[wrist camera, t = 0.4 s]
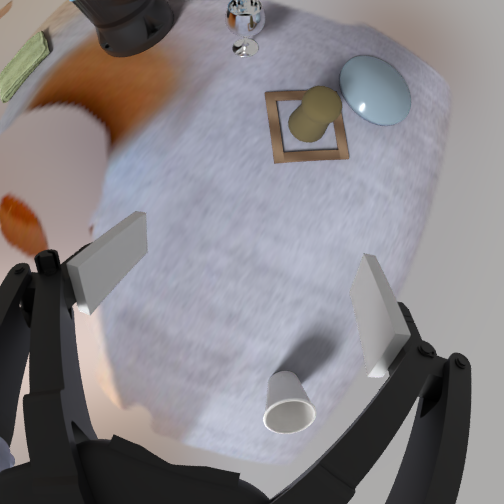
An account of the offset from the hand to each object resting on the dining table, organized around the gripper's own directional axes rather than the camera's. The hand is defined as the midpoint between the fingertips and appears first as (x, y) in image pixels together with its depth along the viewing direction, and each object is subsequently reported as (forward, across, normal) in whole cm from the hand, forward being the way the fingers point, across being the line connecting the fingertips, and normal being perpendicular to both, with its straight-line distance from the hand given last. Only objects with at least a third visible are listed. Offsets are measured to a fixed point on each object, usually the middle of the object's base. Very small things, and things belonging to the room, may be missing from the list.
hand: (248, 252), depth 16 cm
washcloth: (+29, -64, +23) cm, 74 cm away
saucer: (+36, +15, +17) cm, 42 cm away
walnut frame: (+31, +3, +8) cm, 32 cm away
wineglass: (+34, -9, +20) cm, 41 cm away
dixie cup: (+17, +8, -35) cm, 39 cm away
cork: (+31, +3, +7) cm, 32 cm away
